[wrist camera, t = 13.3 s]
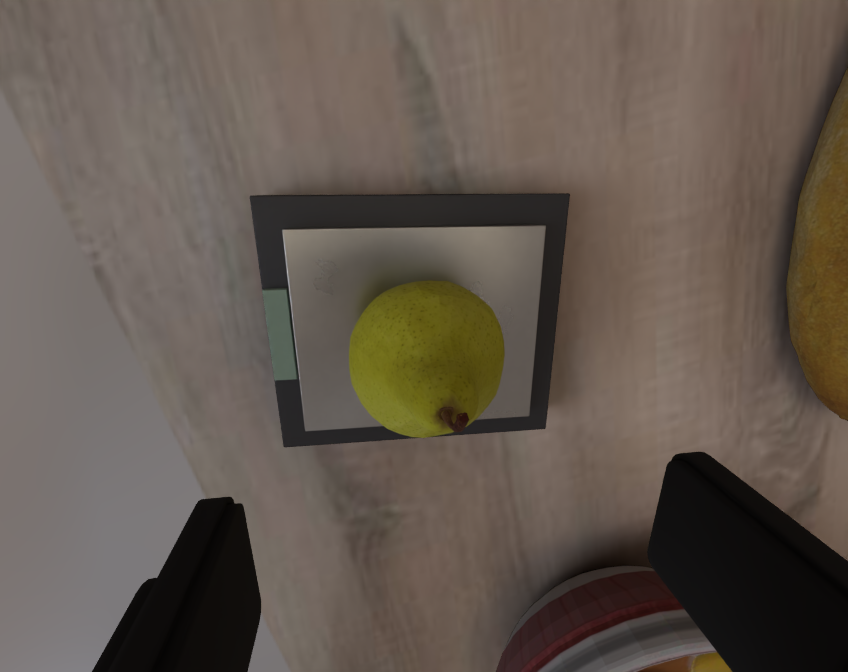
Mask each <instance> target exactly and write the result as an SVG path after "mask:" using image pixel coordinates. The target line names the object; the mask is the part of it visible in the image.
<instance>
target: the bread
mask: <svg viewBox="0 0 848 672" xmlns="http://www.w3.org/2000/svg"><path fill="white" fill-rule="evenodd" d="M786 291H787V305H788V318H789V328H790V337H791V342H792V344H793V346H794V348H795V350H796V352H797V355H798V359H799V363H800V365H801V367H802V370H803V372H804V375H805V378H806V380H807V382H808V383H809V385H810V386H811V388H812V389H813V391H814V392H815V394H816V395H817V397H818V398H819V399H820V400H821V401H822V402H823V403H824V404H825V406H827V407H828V408H829V409H830V410H831V411H833V412H834V413H836V414H837V415H839V417H840V418H841V419H845V420H847V421H848V68H847V70H846V72H845V74H844V76H843V79H842V81H841V83H840V86H839V88H838V90H837V93H836V95H835V97H834V99H833V102H832V104H831V107H830V109H829V112H828V115H827V117H826V120H825V123H824V125H823V128H822V130H821V133H820V136H819V139H818V142H817V145H816V148H815V151H814V154H813V157H812V160H811V162H810V165H809V168H808V171H807V173H806V176H805V179H804V183H803V186H802V190H801V193H800V196H799V202H798V210H797V216H796V223H795V229H794V234H793V241H792V248H791V255H790V263H789V270H788V278H787V286H786Z"/></svg>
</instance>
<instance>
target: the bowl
mask: <svg viewBox="0 0 848 672" xmlns="http://www.w3.org/2000/svg"><path fill="white" fill-rule="evenodd" d="M496 672H732V671H731V669H730V668H729V667H728V666H727V664H726V663H725V662H724V660H723V659H722V658H721V656H720V655H719V654H718V653H717V651H716V650H715V649H714V647H713V646H712V645H711V643H710V642H709V641H708V639H707V638H706V637H705V636H704V634H703V633H702V632H701V630H700V629H699V628H698V626H697V625H696V624H695V622H694V621H693V620H692V619H691V617H690V616H689V615H688V613H687V612H686V611H685V609H684V608H683V607H682V606H681V604H680V603H679V602H678V600H677V599H676V598H675V596H674V595H673V594H672V592H671V591H670V590H669V589H668V587H667V586H666V585H665V583H664V582H663V581H662V579H661V578H660V577H659V576H658V574H657V573H656V572H655V570H654V569H652V568H648V567H642V566H618V567H609V568H603V569H598V570H594V571H590V572H586V573H583V574H580V575H577V576H575V577H573V578H570V579H568V580H566V581H564V582H563V583H561V584H559V585H558V586H556V587H554V588H553V589H552V590H550V591H549V592H548V593H547V594H545V595H544V596H543V597H542V598H541V599H539V600H538V601H537V602H536V603H534V604H533V605H532V606H531V607H530V609H529V610H528V611H527V612H526V613H525V614H524V615H523V616H522V618H521V619H520V621H519V622H518V624H517V625H516V627H515V629H514V630H513V632H512V634H511V636H510V638H509V640H508V643H507V645H506V647H505V649H504V651H503V653H502V656H501V659H500V662H499V665H498V667H497V670H496Z"/></svg>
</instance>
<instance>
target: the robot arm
mask: <svg viewBox="0 0 848 672" xmlns="http://www.w3.org/2000/svg"><path fill="white" fill-rule="evenodd" d="M647 553H648V559H649V562H650V564H651V566H652V567H653V569H654V570H655V572H656V573H657V574H658V576H659V577H660V578H661V579H662V581H663V582H664V583H665V585H666V586H667V587H668V589H669V590H670V591H671V592H672V594H673V595H674V596H675V598H676V599H677V600H678V602H679V603H680V604H681V606H682V607H683V608H684V609H685V611H686V612H687V613H688V615H689V616H690V617H691V619H692V620H693V621H694V622H695V624H696V625H697V626H698V628H699V629H700V630H701V632H702V633H703V634H704V636H705V637H706V638H707V639H708V641H709V642H710V643H711V645H712V646H713V647H714V649H715V650H716V651H717V653H718V654H719V655H720V656H721V658H722V659H723V660H724V662H725V663H726V664H727V666H728V667H729V668H730V669H731V671H732V672H848V561H847V560H845V559H844V558H843V557H841V556H840V555H839V554H838V553H836V552H835V551H834V550H832V549H831V548H830V547H828V546H827V545H826V544H825V543H823V542H822V541H821V540H819V539H818V538H817V537H815V536H814V535H813V534H811V533H810V532H809V531H808V530H806V529H805V528H804V527H802V526H801V525H800V524H798V523H797V522H796V521H795V520H793V519H792V518H791V517H789V516H788V515H787V514H785V513H784V512H783V511H781V510H780V509H779V508H778V507H776V506H775V505H774V504H772V503H771V502H770V501H768V500H767V499H766V498H765V497H763V496H762V495H761V494H759V493H758V492H757V491H755V490H754V489H753V488H751V487H750V486H749V485H748V484H746V483H745V482H744V481H742V480H741V479H740V478H738V477H737V476H736V475H735V474H733V473H732V472H731V471H729V470H728V469H727V468H725V467H724V466H723V465H721V464H720V463H719V462H718V461H716V460H715V459H714V458H712V457H711V456H710V455H708V454H706V453H705V452H691V453H681V454H676V455H675V456H674V457H673V458H672V460H671V461H670V462H669V463H668V464H667V467H666V471H665V475H664V480H663V484H662V489H661V493H660V497H659V502H658V506H657V510H656V515H655V519H654V523H653V528H652V532H651V537H650V541H649V545H648V551H647ZM260 615H261V597H260V592H259V587H258V581H257V576H256V571H255V565H254V560H253V555H252V549H251V544H250V539H249V533H248V528H247V523H246V517H245V512H244V507H243V505H242V504H241V503H239V504H234V500H233V499H232V497H221V498H211V499H202V500H200V501H198V503H197V504H196V506H195V508H194V510H193V512H192V513H191V515H190V517H189V519H188V521H187V523H186V525H185V526H184V528H183V530H182V532H181V534H180V536H179V538H178V540H177V542H176V544H175V545H174V547H173V549H172V551H171V553H170V555H169V557H168V559H167V561H166V562H165V564H164V566H163V568H162V570H161V572H160V574H159V576H158V577H157V578H153V579H148V580H147V581H146V582H144V583H143V584H142V585H141V587H140V588H139V590H138V591H137V593H136V594H135V596H134V598H133V600H132V602H131V603H130V605H129V607H128V608H127V610H126V612H125V614H124V616H123V618H122V619H121V621H120V623H119V625H118V626H117V628H116V630H115V632H114V634H113V635H112V637H111V639H110V641H109V643H108V644H107V646H106V648H105V650H104V652H103V653H102V655H101V657H100V658H99V660H98V662H97V664H96V665H95V667H94V669H93V671H92V672H247V671H248V667H249V663H250V659H251V654H252V650H253V646H254V642H255V638H256V633H257V629H258V625H259V621H260Z"/></svg>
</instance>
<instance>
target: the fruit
mask: <svg viewBox="0 0 848 672" xmlns="http://www.w3.org/2000/svg"><path fill="white" fill-rule="evenodd" d="M504 357H505V349H504V339H503V334H502V330H501V326H500V324H499V322H498V320H497V318H496V316H495V313H494V311H493V310H492V308H491V307H490V306H489V305H488V304H487V303H485V302H484V301H483V300H482V299H481V298H480V297H478V296H477V295H475V294H474V293H472V292H470V291H469V290H467V289H466V288H464V287H462V286H460V285H457V284H454V283H452V282H449V281H432V280H427V281H416V282H411V283H406V284H402V285H399V286H396V287H394V288H391V289H389V290H387V291H385V292H383V293H382V294H380V295H379V296H377V297H376V298H375V299H374V300H373V301H372V302H371V303H370V304H369V305H368V307H367V308H366V309H365V310H364V312H363V313H362V315H361V316H360V318H359V320H358V321H357V323H356V325H355V327H354V330H353V332H352V334H351V336H350V346H349V371H350V377H351V383H352V386H353V388H354V390H355V392H356V394H357V396H358V398H359V400H360V402H361V404H362V405H363V406H364V408H365V409H366V410H367V411H368V413H369V414H370V415H371V416H372V417H373V418H374V419H376V420H377V421H378V422H379V423H381V424H382V425H383V426H384V427H386V428H387V429H389V430H391V431H394V432H396V433H399V434H402V435H406V436H410V437H420V438H425V437H432V436H438V435H443V434H448V433H452V432H462V431H463V430H464V428H465V427H467V426H468V425H469V424H471V423H472V422H473V421H474V420H476V419H477V418H478V417H479V416H480V415H481V414H482V413H483V412H484V410H485V409H486V408H487V407H488V406H489V404H490V403H491V401H492V400H493V399H494V397H495V396H496V394H497V391H498V388H499V385H500V380H501V376H502V371H503V365H504Z"/></svg>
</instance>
